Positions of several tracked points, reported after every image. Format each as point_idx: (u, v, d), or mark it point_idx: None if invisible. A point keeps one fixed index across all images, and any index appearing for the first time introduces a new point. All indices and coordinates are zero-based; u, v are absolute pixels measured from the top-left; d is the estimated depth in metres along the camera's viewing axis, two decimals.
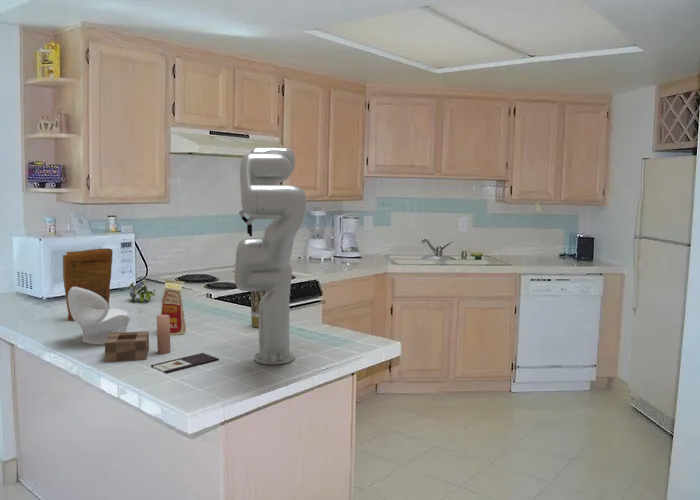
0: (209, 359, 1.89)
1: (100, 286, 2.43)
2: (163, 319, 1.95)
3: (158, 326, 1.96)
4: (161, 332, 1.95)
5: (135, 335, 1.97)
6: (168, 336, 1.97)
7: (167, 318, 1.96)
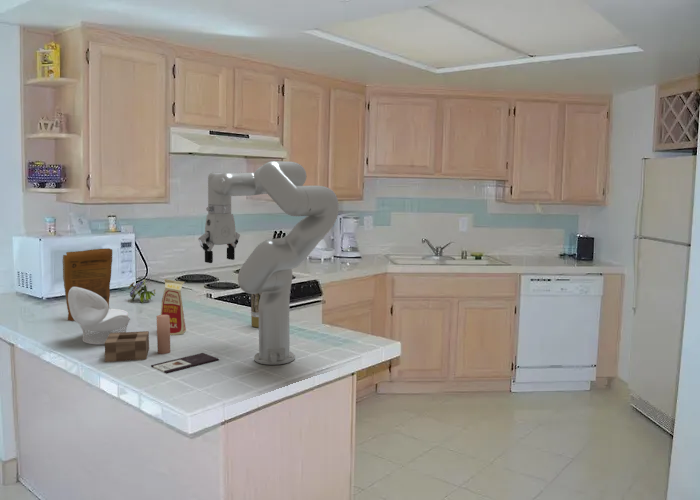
0: (209, 359, 1.89)
1: (100, 286, 2.43)
2: (163, 319, 1.95)
3: (158, 326, 1.96)
4: (161, 332, 1.95)
5: (135, 335, 1.97)
6: (168, 336, 1.97)
7: (167, 318, 1.96)
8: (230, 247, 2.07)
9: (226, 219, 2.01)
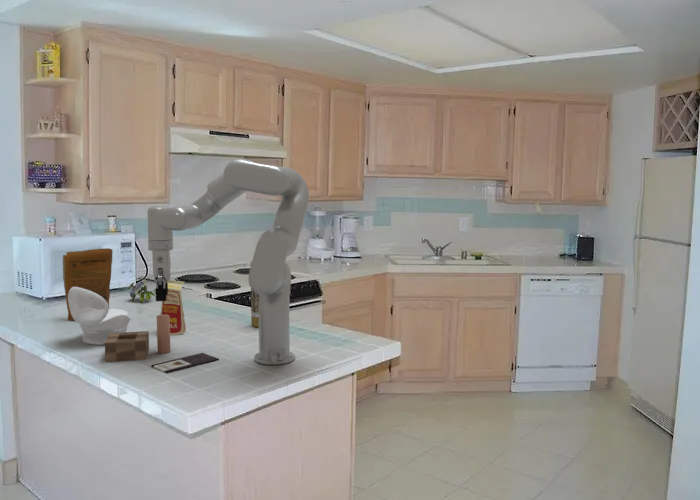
0: (209, 359, 1.89)
1: (100, 286, 2.43)
2: (163, 319, 1.95)
3: (158, 326, 1.96)
4: (161, 332, 1.95)
5: (135, 335, 1.97)
6: (168, 336, 1.97)
7: (167, 318, 1.96)
8: None
9: None
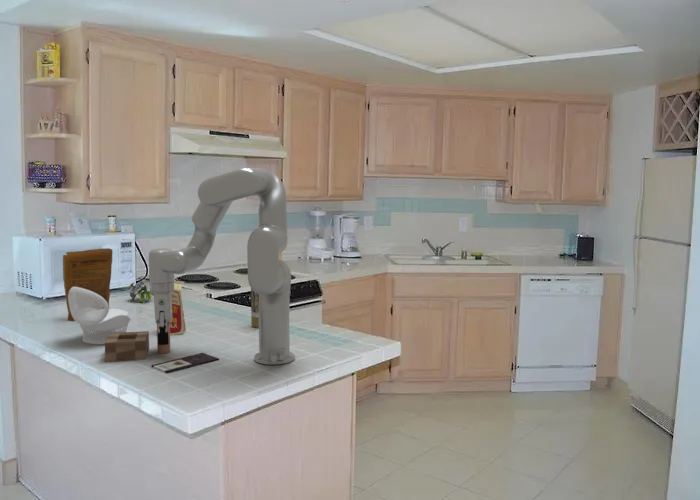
0: (209, 359, 1.89)
1: (100, 286, 2.43)
2: None
3: None
4: None
5: (135, 335, 1.97)
6: (168, 336, 1.97)
7: None
8: None
9: None
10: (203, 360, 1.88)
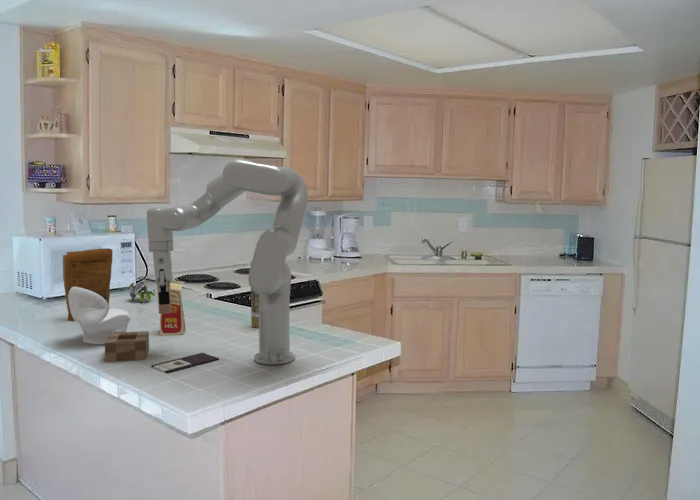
0: (209, 359, 1.89)
1: (100, 286, 2.43)
2: None
3: (158, 286, 1.94)
4: None
5: (135, 335, 1.97)
6: (169, 296, 1.95)
7: None
8: None
9: None
10: (203, 360, 1.88)
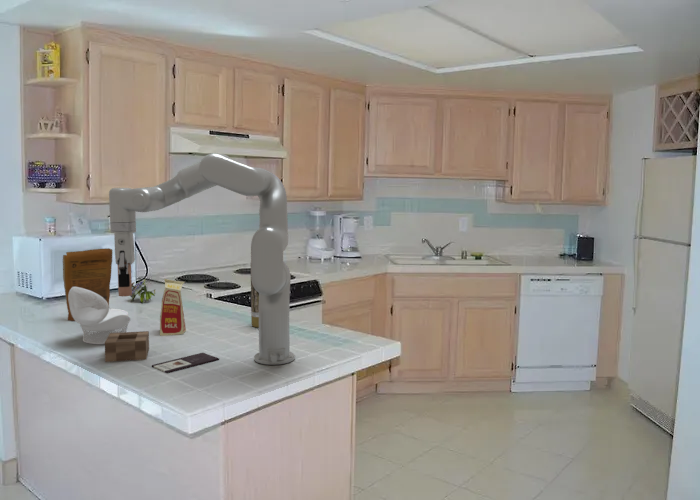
0: (209, 359, 1.89)
1: (100, 286, 2.43)
2: None
3: None
4: None
5: (135, 335, 1.97)
6: None
7: None
8: None
9: (132, 236, 1.91)
10: (203, 360, 1.88)
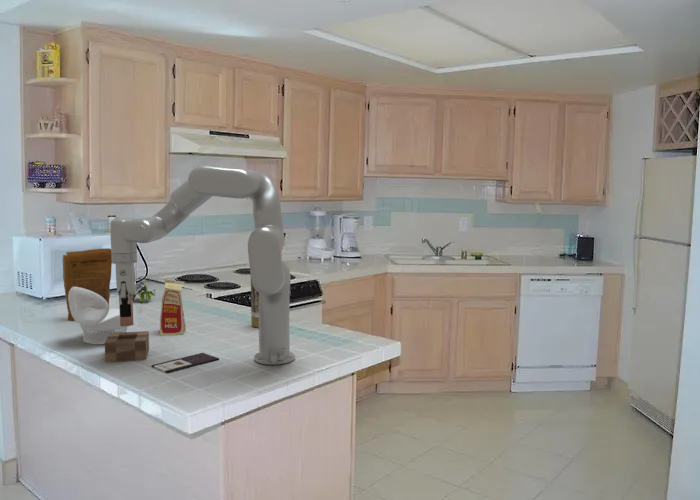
0: (209, 359, 1.89)
1: (100, 286, 2.43)
2: None
3: None
4: None
5: (135, 335, 1.97)
6: (131, 308, 1.92)
7: None
8: None
9: None
10: (203, 360, 1.88)
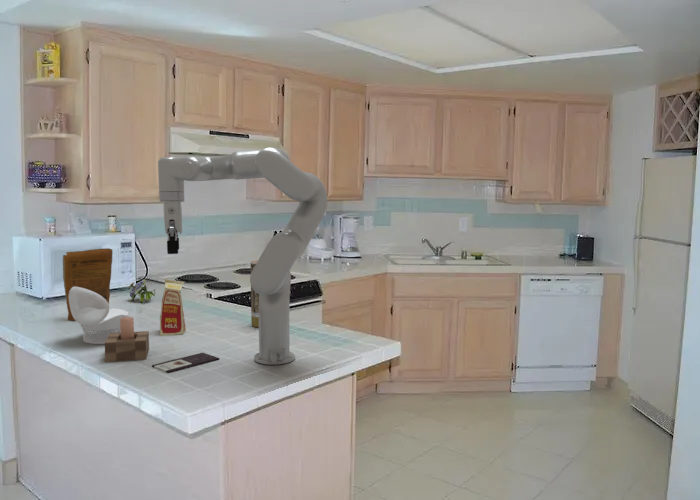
0: (210, 359, 1.89)
1: (100, 286, 2.43)
2: (126, 321, 1.92)
3: (121, 329, 1.92)
4: (124, 335, 1.92)
5: (135, 335, 1.97)
6: None
7: (131, 320, 1.92)
8: None
9: None
10: (203, 360, 1.88)
